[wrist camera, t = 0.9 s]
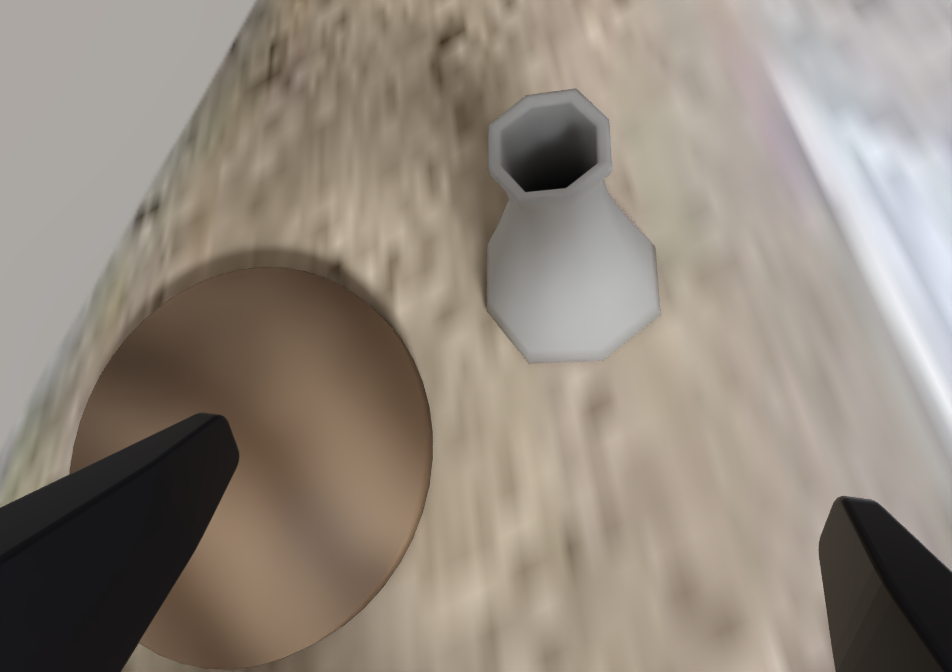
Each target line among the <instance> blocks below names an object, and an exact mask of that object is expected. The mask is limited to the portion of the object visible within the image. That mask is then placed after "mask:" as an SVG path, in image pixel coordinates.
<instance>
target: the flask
mask: <svg viewBox="0 0 952 672" xmlns="http://www.w3.org/2000/svg"><path fill="white" fill-rule="evenodd" d="M488 171H489V174H490V175H491V176H492V177H493V179H494V180H495V181H496V182H497V183H498V184H499V185H500V186H501V187H502V189H503V190H504V191H505V192H506V193H507V194H508V196H509V200H508V202H507V205H506V207H505V210H504V212H503V215H502V217H501V220H500V222H499V224H498V226H497V228H496V230H495V232H494V233H493V235H492V237H491V239H490V241H489V243H488V246H487V312H488V313H489V315H490V316H491V317H492V318H493V320H494V321H495V322H496V323H497V325H498V326H499V327H500V328H501V329H502V331H503V332H504V333H505V334H506V336H507V337H508V338H509V339H510V341H511V342H512V343H513V344H514V346H515V347H516V348H517V349H518V351H519V352H520V353H521V354H522V356H523V357H524V358H525V359H526V361H527V362H528V363H529V364H533V363H559V362H586V361H603V360H604V359H606V358H607V357H608V356H609V355H611V354H612V353H613V352H614V351H616V350H617V349H618V348H620V347H621V346H622V345H623V344H625V343H626V342H627V341H629V340H630V339H631V338H632V337H634V336H635V335H636V334H637V333H639V332H640V331H641V330H643V329H644V328H645V327H646V326H648V325H649V324H650V323H651V322H653V321H654V320H655V319H657V318H658V317H659V316H660V315H661V313H660V300H659V288H658V275H657V262H656V250H655V246H654V245H653V244H652V242H651V241H650V240H649V239H648V238H647V237H646V236H645V235H644V234H643V233H642V232H641V231H640V230H639V229H638V228H637V227H636V226H635V225H634V224H633V223H632V222H631V221H630V219H629V218H628V217H627V216H626V214H625V213H624V212H623V211H622V210H621V208H620V207H619V206H618V205H617V204H616V202H615V201H614V200H613V199H612V197H611V196H610V195H609V193H608V190H607V187H606V185H605V182H604V179H605V178H606V177H607V176H609V175H610V173H611V172H612V158H611V142H610V125H609V119H608V118H607V117H606V116H605V115H604V114H603V113H602V112H601V111H600V110H598V109H597V108H596V107H595V106H594V105H593V104H592V103H591V102H590V101H589V100H588V99H587V98H586V97H585V96H584V95H583V94H582V93H580V92H579V91H578V90H577V89H569V90H562V91H554V92H547V93H539V94H532V95H526V96H525V97H524V98H522V99H521V100H520V101H519V102H517V103H516V104H515V105H514V106H512V107H511V108H510V109H509V110H507V111H506V112H505V113H503V114H502V115H501V116H500V117H498V118H497V119H496V120H495V121H493V122H492V123H491V124H490V125H488Z"/></svg>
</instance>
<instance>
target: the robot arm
mask: <svg viewBox="0 0 952 672" xmlns="http://www.w3.org/2000/svg"><path fill="white" fill-rule="evenodd" d="M239 458H240V454H239V449H238V446H237V443H236V441H235V438H234V435H233V432H232V430H231V427H230V424H229V422H228V420H227V419H226V418H225V417H224V416H223V415H220V414H213V413H205V412H202V413H197V414H195V415H192V416H190V417H188V418H186V419H184V420H182V421H180V422H178V423H176V424H174V425H172V426H170V427H167V428H165V429H163V430H161V431H159V432H157V433H155V434H153V435H151V436H149V437H147V438H145V439H142V440H140V441H138V442H136V443H134V444H132V445H130V446H128V447H126V448H124V449H122V450H120V451H118V452H115V453H113V454H111V455H109V456H107V457H105V458H103V459H101V460H99V461H97V462H95V463H93V464H90V465H88V466H86V467H84V468H82V469H80V470H78V471H76V472H74V473H72V474H70V475H68V476H65V477H63V478H61V479H59V480H57V481H55V482H53V483H51V484H49V485H47V486H45V487H43V488H40V489H38V490H36V491H34V492H32V493H30V494H28V495H26V496H24V497H22V498H20V499H18V500H15V501H13V502H11V503H9V504H7V505H5V506H3V507H1V508H0V672H121V671H122V669H123V668H124V666H125V664H126V663H127V661H128V659H129V658H130V656H131V655H132V653H133V651H134V650H135V648H136V647H137V645H138V643H139V642H140V640H141V638H142V637H143V635H144V634H145V632H146V630H147V629H148V627H149V625H150V624H151V622H152V621H153V619H154V617H155V616H156V614H157V612H158V611H159V609H160V608H161V606H162V604H163V603H164V601H165V600H166V598H167V596H168V595H169V593H170V591H171V590H172V588H173V587H174V585H175V583H176V582H177V580H178V578H179V577H180V575H181V574H182V572H183V570H184V569H185V567H186V566H187V564H188V562H189V561H190V559H191V557H192V555H193V554H194V552H195V550H196V549H197V547H198V545H199V543H200V541H201V539H202V537H203V535H204V533H205V531H206V529H207V527H208V525H209V523H210V521H211V519H212V517H213V515H214V513H215V511H216V509H217V507H218V505H219V503H220V501H221V499H222V497H223V495H224V493H225V491H226V489H227V487H228V485H229V483H230V481H231V479H232V477H233V475H234V473H235V471H236V469H237V466H238V463H239ZM819 560H820V567H821V574H822V581H823V588H824V595H825V602H826V609H827V616H828V624H829V631H830V638H831V645H832V652H833V658H834V664H835V670H836V672H952V571H951V570H949V569H948V568H947V567H946V566H945V565H944V564H943V563H942V562H941V561H940V560H939V559H938V558H937V557H936V556H935V555H934V554H932V553H931V552H930V551H929V550H928V549H927V548H926V547H925V546H924V545H923V544H922V543H921V542H920V541H919V540H918V539H916V538H915V537H914V536H913V535H912V534H911V533H910V532H909V531H908V530H907V529H906V528H905V527H904V526H903V525H902V524H900V523H899V522H898V521H897V520H896V519H895V518H894V517H893V516H892V515H891V514H890V513H889V512H888V511H887V510H886V509H885V508H883V507H882V506H881V505H880V504H879V503H877V502H875V501H873V500H870V499H863V498H856V497H848V496H841V497H838V498H837V499H836V500H835V501H834V503H833V505H832V508H831V510H830V513H829V516H828V518H827V521H826V523H825V526H824V529H823V531H822V534H821V537H820V541H819Z"/></svg>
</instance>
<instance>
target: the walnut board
mask: <svg viewBox="0 0 952 672" xmlns="http://www.w3.org/2000/svg"><path fill="white" fill-rule="evenodd" d="M202 412H205V413H213V414H220V415H223V416H224V417H225V418H226V419H227V420H228V422H229V424H230V427H231V430H232V432H233V435H234V438H235V441H236V443H237V446H238V449H239V454H240V458H239V463H238V466H237V469H236V471H235V473H234V475H233V477H232V479H231V481H230V483H229V485H228V487H227V489H226V491H225V493H224V495H223V497H222V499H221V501H220V503H219V505H218V507H217V509H216V511H215V513H214V515H213V517H212V519H211V521H210V523H209V525H208V527H207V529H206V531H205V533H204V535H203V537H202V539H201V541H200V543H199V545H198V547H197V549H196V550H195V552H194V554H193V555H192V557H191V559H190V561H189V562H188V564H187V566H186V567H185V569H184V570H183V572H182V574H181V575H180V577H179V578H178V580H177V582H176V583H175V585H174V587H173V588H172V590H171V591H170V593H169V595H168V596H167V598H166V600H165V601H164V603H163V604H162V606H161V608H160V609H159V611H158V612H157V614H156V616H155V617H154V619H153V621H152V622H151V624H150V625H149V627H148V629H147V630H146V632H145V634H144V635H143V637H142V638H141V640H140V642H139V643H140V644H142V645H143V646H145V647H147V648H148V649H150V650H152V651H154V652H155V653H157V654H159V655H161V656H163V657H166V658H169V659H171V660H174V661H176V662H179V663H181V664H186V665H191V666H196V667H201V668H206V669H238V668H246V667H254V666H259V665H262V664H266V663H269V662H272V661H276V660H279V659H282V658H285V657H287V656H289V655H291V654H293V653H296V652H298V651H300V650H302V649H304V648H306V647H308V646H310V645H312V644H314V643H316V642H318V641H320V640H322V639H323V638H325V637H326V636H328V635H329V634H331V633H333V632H334V631H336V630H337V629H339V628H340V627H342V626H343V625H345V624H346V623H347V622H348V621H350V620H351V619H352V618H353V617H354V616H355V615H357V614H358V613H359V612H360V611H361V610H362V609H364V608H365V607H366V606H367V605H368V603H369V602H370V601H371V600H372V599H373V598H374V597H375V596H376V595H377V593H378V592H379V591H380V590H381V589H382V588H383V587H384V585H385V584H386V583H387V581H388V580H389V578H390V577H391V575H392V574H393V572H394V571H395V570H396V568H397V567H398V565H399V564H400V562H401V560H402V558H403V556H404V554H405V552H406V551H407V549H408V547H409V545H410V543H411V541H412V539H413V537H414V534H415V531H416V529H417V526H418V524H419V521H420V518H421V516H422V513H423V509H424V505H425V501H426V497H427V493H428V489H429V485H430V476H431V468H432V459H433V431H432V424H431V416H430V409H429V404H428V400H427V396H426V392H425V389H424V385H423V381H422V379H421V377H420V374H419V372H418V369H417V367H416V365H415V362H414V360H413V358H412V357H411V355H410V353H409V351H408V350H407V348H406V346H405V345H404V343H403V341H402V340H401V338H400V337H399V336H398V335H397V333H396V332H395V331H394V330H393V328H392V327H391V326H390V325H389V323H388V322H387V321H386V320H384V319H383V318H382V317H381V316H380V315H379V314H378V313H377V312H376V311H375V310H374V309H373V308H372V307H370V306H369V305H368V304H367V303H365V302H364V301H363V300H361V299H360V298H359V297H357V296H356V295H354V294H353V293H351V292H350V291H348V290H347V289H346V288H344V287H342V286H340V285H338V284H336V283H334V282H332V281H330V280H328V279H326V278H324V277H321V276H318V275H314V274H311V273H308V272H305V271H300V270H294V269H288V268H272V267H260V268H251V269H242V270H237V271H233V272H229V273H225V274H221V275H218V276H216V277H213V278H210V279H208V280H205V281H202V282H200V283H198V284H196V285H194V286H192V287H190V288H188V289H186V290H184V291H183V292H181V293H179V294H177V295H176V296H175V297H173V298H172V299H170V300H169V301H167V302H166V303H164V304H163V305H161V306H160V307H159V308H158V309H156V310H155V311H154V312H153V313H152V314H151V315H149V316H148V317H147V318H146V319H145V320H144V321H143V322H142V323H141V324H140V325H139V326H138V327H137V328H136V329H135V330H134V331H133V332H132V333H131V334H130V335H129V336H128V337H127V338H126V340H125V341H124V342H123V344H122V345H121V346H120V347H119V349H118V350H117V351H116V353H115V354H114V355H113V356H112V358H111V360H110V361H109V363H108V364H107V366H106V368H105V369H104V371H103V372H102V374H101V376H100V377H99V379H98V381H97V383H96V385H95V387H94V389H93V391H92V393H91V395H90V397H89V400H88V402H87V405H86V408H85V410H84V413H83V416H82V418H81V421H80V424H79V428H78V432H77V435H76V439H75V443H74V447H73V454H72V460H71V466H70V474H72V473H74V472H76V471H78V470H80V469H82V468H84V467H86V466H88V465H90V464H93V463H95V462H97V461H99V460H101V459H103V458H105V457H107V456H109V455H111V454H113V453H115V452H118V451H120V450H122V449H124V448H126V447H128V446H130V445H132V444H134V443H136V442H138V441H140V440H142V439H145V438H147V437H149V436H151V435H153V434H155V433H157V432H159V431H161V430H163V429H165V428H167V427H170V426H172V425H174V424H176V423H178V422H180V421H182V420H184V419H186V418H188V417H190V416H192V415H195V414H197V413H202Z"/></svg>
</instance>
